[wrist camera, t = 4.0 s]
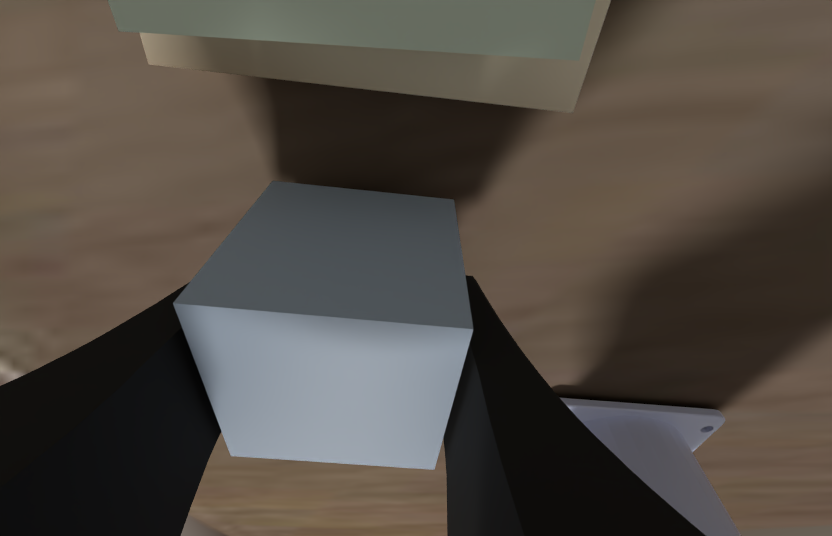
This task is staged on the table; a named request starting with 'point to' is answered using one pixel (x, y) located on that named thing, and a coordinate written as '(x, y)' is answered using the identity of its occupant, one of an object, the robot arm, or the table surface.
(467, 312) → the blue cube
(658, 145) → the table surface
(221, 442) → the table surface
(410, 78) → the birch slab
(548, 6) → the green block
